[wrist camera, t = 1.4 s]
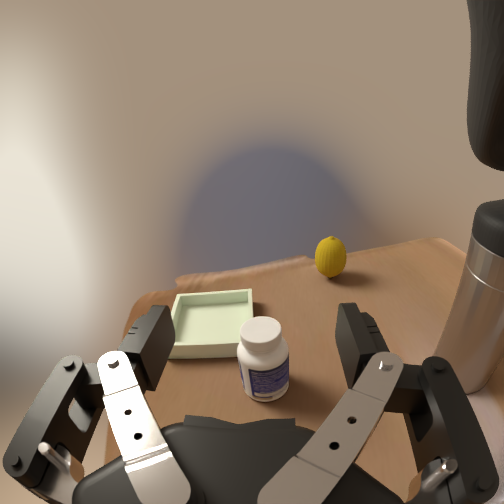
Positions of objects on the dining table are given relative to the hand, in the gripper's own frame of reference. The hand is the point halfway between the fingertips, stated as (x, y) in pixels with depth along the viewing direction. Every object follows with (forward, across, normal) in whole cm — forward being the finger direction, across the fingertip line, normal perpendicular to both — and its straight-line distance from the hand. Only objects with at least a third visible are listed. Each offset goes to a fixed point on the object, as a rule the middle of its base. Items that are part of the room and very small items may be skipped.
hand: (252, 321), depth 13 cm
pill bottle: (+11, 0, +18) cm, 21 cm away
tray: (+22, +8, +17) cm, 29 cm away
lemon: (+34, -11, +16) cm, 40 cm away
